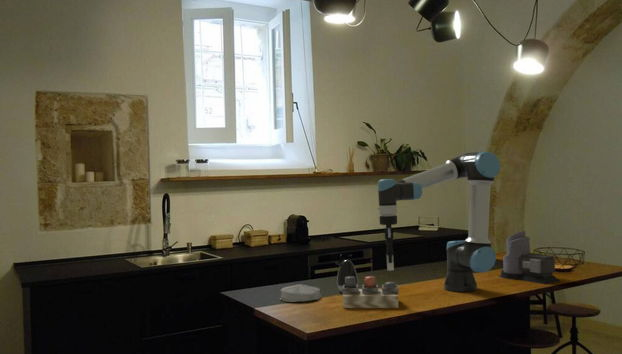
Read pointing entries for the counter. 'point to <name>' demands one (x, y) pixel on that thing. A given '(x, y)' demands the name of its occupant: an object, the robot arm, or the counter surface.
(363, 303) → the console
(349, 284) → the cap
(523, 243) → the juicer
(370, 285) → the middle cap
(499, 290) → the counter surface
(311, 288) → the food container
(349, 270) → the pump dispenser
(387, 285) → the cap
